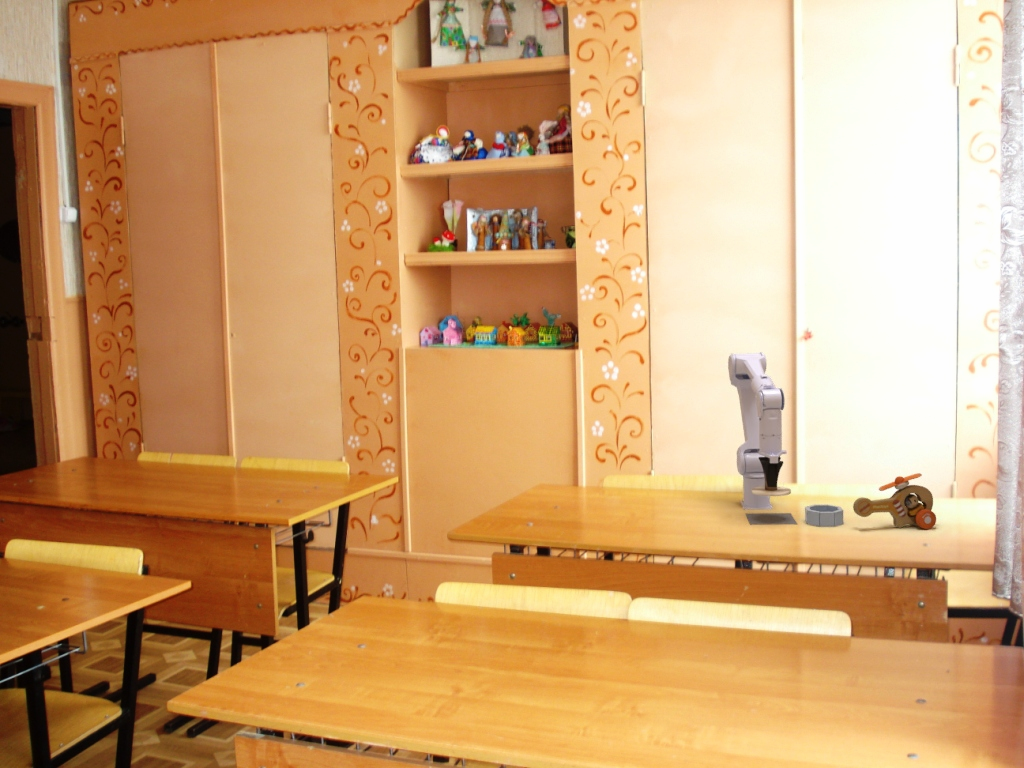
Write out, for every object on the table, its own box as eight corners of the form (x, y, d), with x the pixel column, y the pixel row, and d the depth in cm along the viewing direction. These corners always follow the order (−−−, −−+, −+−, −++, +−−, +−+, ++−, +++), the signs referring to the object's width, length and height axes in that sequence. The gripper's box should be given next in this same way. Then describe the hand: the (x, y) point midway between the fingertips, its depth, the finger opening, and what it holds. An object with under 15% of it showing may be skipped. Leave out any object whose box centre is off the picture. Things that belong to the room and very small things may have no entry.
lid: (749, 489, 267) (749, 469, 267) (787, 488, 266) (787, 469, 266) (753, 496, 257) (753, 475, 257) (793, 495, 256) (793, 475, 256)
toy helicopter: (940, 528, 248) (941, 474, 246) (862, 534, 245) (862, 480, 244) (922, 521, 256) (923, 468, 255) (847, 526, 253) (846, 473, 252)
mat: (745, 514, 269) (745, 513, 269) (790, 514, 268) (790, 513, 268) (750, 525, 258) (750, 524, 257) (797, 525, 256) (797, 524, 256)
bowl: (803, 519, 262) (803, 504, 262) (838, 519, 261) (838, 504, 260) (809, 528, 253) (808, 512, 253) (845, 527, 252) (845, 512, 251)
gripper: (790, 438, 252) (790, 491, 254) (782, 430, 267) (782, 479, 268) (761, 439, 253) (762, 491, 255) (755, 430, 268) (756, 479, 269)
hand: (770, 485), depth 262 cm, fingers closed on lid, 3 cm apart
